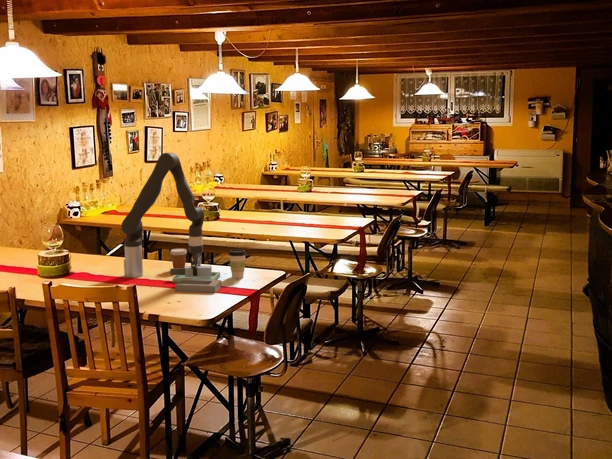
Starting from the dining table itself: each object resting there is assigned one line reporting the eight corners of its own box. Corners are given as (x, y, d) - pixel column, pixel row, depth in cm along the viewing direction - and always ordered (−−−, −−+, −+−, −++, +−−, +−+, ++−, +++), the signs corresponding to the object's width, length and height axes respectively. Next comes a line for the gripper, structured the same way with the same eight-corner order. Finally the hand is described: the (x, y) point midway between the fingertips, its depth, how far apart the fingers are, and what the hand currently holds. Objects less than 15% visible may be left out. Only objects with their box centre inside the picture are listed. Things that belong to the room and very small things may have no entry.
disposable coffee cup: (185, 272, 358) (185, 251, 355) (169, 272, 358) (168, 251, 356) (189, 268, 367) (188, 248, 365) (172, 268, 367) (172, 248, 365)
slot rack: (175, 291, 319) (174, 284, 318) (182, 285, 331) (182, 278, 330) (215, 292, 317) (215, 286, 316) (221, 286, 328) (221, 280, 328)
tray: (172, 282, 335) (172, 278, 335) (181, 275, 351) (181, 270, 351) (212, 284, 333) (212, 279, 333) (220, 276, 349) (220, 272, 348)
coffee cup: (232, 280, 341) (232, 253, 338) (226, 276, 350) (225, 249, 347) (249, 278, 346) (249, 251, 343) (242, 274, 354) (242, 248, 351)
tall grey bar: (170, 277, 338) (169, 268, 337) (171, 275, 343) (170, 266, 342) (211, 276, 340) (211, 267, 339) (211, 274, 345) (211, 265, 344)
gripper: (192, 241, 346) (193, 270, 349) (185, 246, 332) (186, 277, 335) (206, 241, 345) (206, 271, 348) (198, 246, 331) (199, 277, 334)
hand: (196, 274), depth 341 cm, fingers closed on tall grey bar, 5 cm apart
